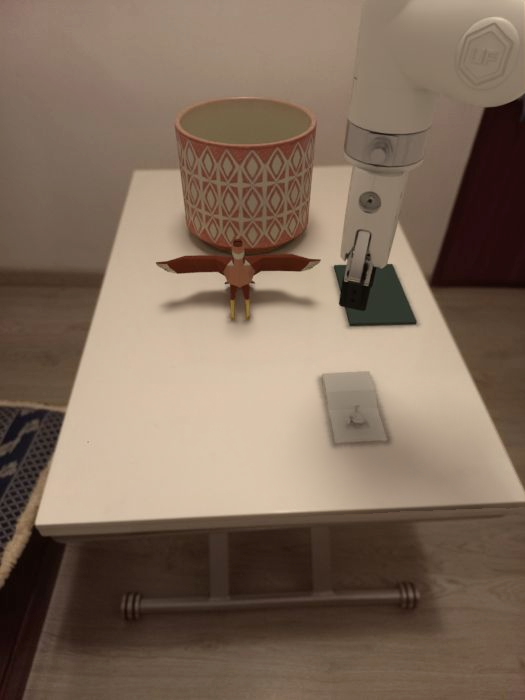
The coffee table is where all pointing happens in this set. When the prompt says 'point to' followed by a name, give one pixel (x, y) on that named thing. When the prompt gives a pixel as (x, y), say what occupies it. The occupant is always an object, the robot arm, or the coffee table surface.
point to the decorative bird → (238, 267)
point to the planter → (246, 170)
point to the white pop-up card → (353, 407)
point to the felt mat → (381, 300)
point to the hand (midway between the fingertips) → (356, 294)
